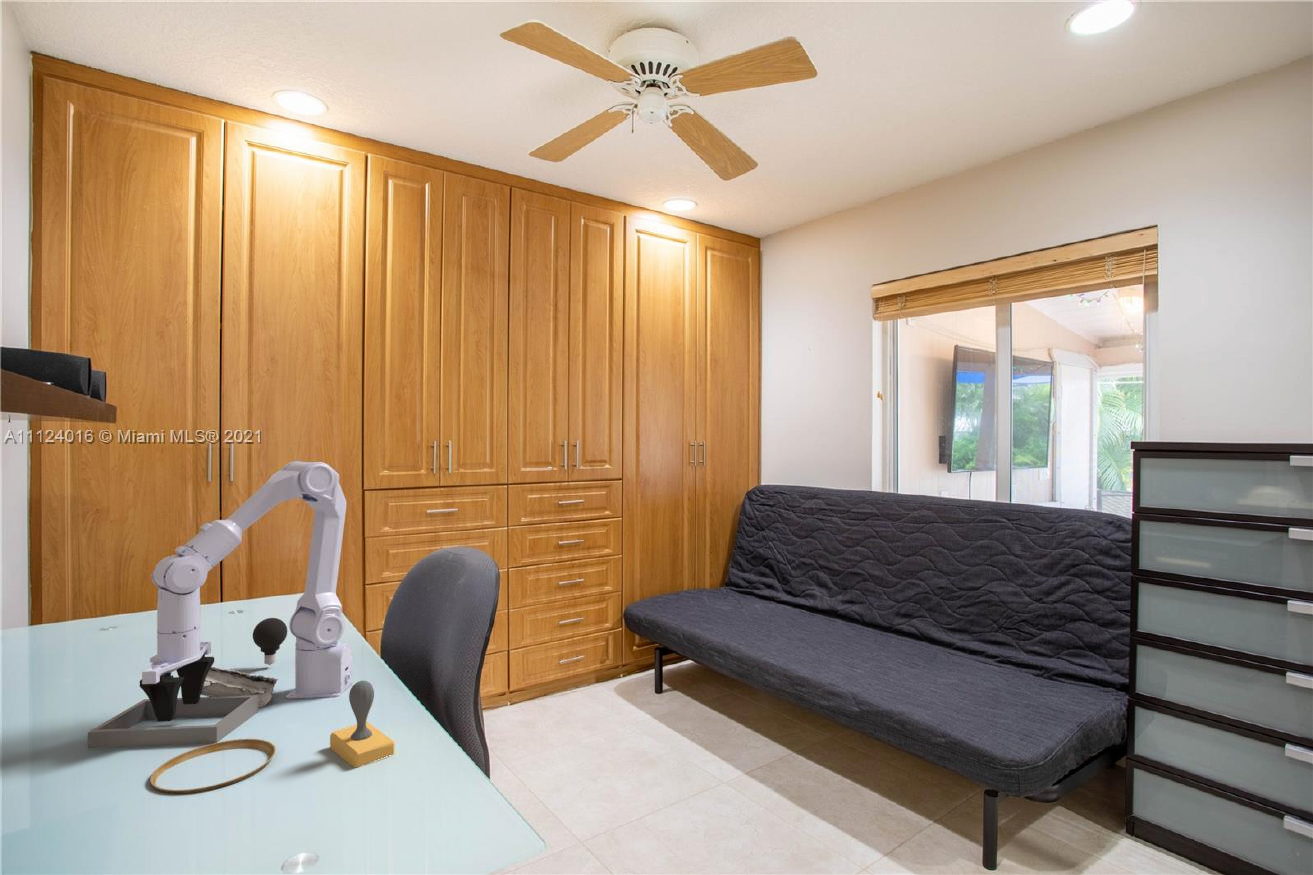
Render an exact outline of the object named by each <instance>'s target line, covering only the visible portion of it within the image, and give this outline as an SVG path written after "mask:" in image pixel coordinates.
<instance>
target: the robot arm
mask: <svg viewBox="0 0 1313 875" xmlns="http://www.w3.org/2000/svg"><path fill="white" fill-rule="evenodd" d="M296 499H302V500H303V501H304V502H305V503H306V504H307V505H308V507H310V508H311V509H312V510H313V511H314V515H313V516H314V517H313V523H312V532H311V541H310V547H309V548H310V549H309V556H308V564H307V570H306V580H305V587H304V592H303V594H302V595H301V596H300V597H299V598H298V600H297V602H296V608H295V610H294V612H293V614H292V616H291V617H290V620H289V627H288V628H289V631H290V633H291V635H293V636H294V637H295V645H294V646H295V648H294V649H295V650H294V651H295V653H294V654H295V656H294V658H295V663H294V664H295V668H294V669H295V672H294V673H295V677H294V679H295V682H294V683H295V684H294V686H295V688H294V689H293V690H292V691H290V692H289V693H288V694H287V695H286V696H285V698H286V699H287V700H288V699H290V700H291V699H313V698H314V699H315V698H318V699H319V698H320V699H321V698H338V697H341V695H342V694H343V693H344V692H345V691H346V690H347V689H348V688H349V687H350V686H351V685H352V684H353V683H354V678H353V648H352V645H351V644H350V643H346V642H345V643H343V642H340V641H339V640H340V639H341V638H342V636H343V634H344V632H345V628H346V627H345V620H344V618H343V616H342V612H343V610H342V609H343V605H342V603H341V601H340V599H339V597H338V596H337V585H338V578H339V570H340V561H341V553H342V552H341V551H342V545H343V536H344V529H345V520H346V511H347V500H346V497H345V494H344V492H343V490H342V486H341V484H340V474H339V473H338V472H337V471H336V470H335V469H334V468H332V467H331V465H329V464H327V463H325V462H322V461H317V462H316V461H315V462H309V461H307V462H306V461H299V460H294V461H291V462H288V463H287V464H285V465H284V466H283V467H281V470H280V469H279V470H278V471H276V472H274V473H273V474H272V475H271V476H270V478H269V479H268V480H267V481H266V482H265V483H264V484H263V485H262V486H261V487H259V489H257V490H256V492H254V493H253V494H252V495H251V496H250V497H249V498H248V499H247V500H245V501H244V502H243V504H242V505H241V506H239V507H238V508H237V509H236V510H235V511H234V512H233V513H232V514H231V515H230V516H228V517H227V519H216V520H213V521H211V523H209V522H208V523H207V522H205V523H203V524H202V525H200V527H199V529H200V532H199V533H197V534H196V535H195V536H194V537H193V538H191V539H190V540H189V541H188V542H187V543H186V544H184V545H183V546H182V545H180V546H178V547H176V548H175V549H174V551H175V553H176V554H172V555H169V556H168V555H167V556H166V557H164V558H162V559H161V560H160V561H159V562H158V563H156V565H155V567H154V568H155V569H154V570H153V572H152V573H151V574H150V578H151V581H152V583H153V584H154V585H155V586H156V587H157V604H156V605H157V606H156V611H157V612H156V639H157V640H156V641H157V642H156V643H157V644H156V651H157V652H156V655H154V656H151V657H150V658H149V662H150V663H151V664H150V665H149V666H148V667H147V668H146V669H144V670H142V672H141V679H140V680H139V688H140V689H141V690H142V691H143V692H144V693H145V695H146V696H147V699H150V701H151V704H152V706H153V709H154V712H155V715H156V718H155V719H156V721H157V722H158V723H159V722H161V723H163V722H172V721H173V720H174V719H175V717H174V716H175V712H176V703H177V698H179V697H178V696H179V692H180V691H181V692H180V693H181V698H182V701H183V704H197V703H198V702H199V700H200V697H202V695H201V692H202V689H203V685H204V682H205V679H206V676H207V674H208V672H209V670H210V668H211V666H212V667H213V665H214V663H215V657H214V656H206V655H209V654H211V653H212V642H211V641H201V587H202V586H204V584H205V583H206V581H207V578H208V573H209V571H211V570H212V569H213V568H215V567H216V566H217V565H218V564H220V562H221V561H222V560H224V559H225V558H226V557H227V556H228V555H230V553H232V551H234V550H235V549H236V548H237V547H238V546H239V545H240V544H242V540H243V533H244V531H246V530H247V529H249V527H251V526H252V525H253V524H255V522H257V521H258V520H259V519H261V518H262V517H264V515H265V514H267V513H268V512H270V511H271V510H272V509H273V508H275V507H276V506H277V505H278V504H280V503H281V502H284V501H290V500H296ZM175 671H176V674H177V676H175V677H174V675H172V673H173V672H175Z"/></svg>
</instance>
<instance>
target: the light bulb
mask: <svg viewBox="0 0 1313 875" xmlns="http://www.w3.org/2000/svg"><path fill="white" fill-rule="evenodd" d="M287 635H288V627H287V625H286V623H285V622H284V621H283V620H282V619H279V618H275V617H268V618H265V619H263V620H261V621H260V622H258V623H257V624H256V626H255V627H254V629H253V632H252V640H253V642H254V644H255V645H256V646H257V647H259V648H260V652H261V653H264V654H263V656H264V657H263V658H264V664H265V665H269V666H271V665H273V664H274V663H276V661H277V651H278V650H280V648H281V647H280V646H281V645H282V644H283V643H284V642H285V640H286V638H287V637H288V636H287Z"/></svg>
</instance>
